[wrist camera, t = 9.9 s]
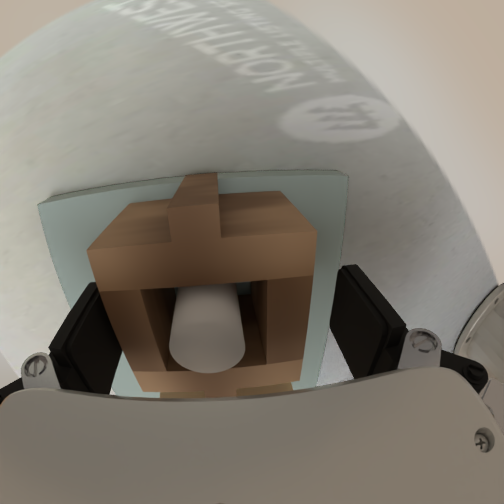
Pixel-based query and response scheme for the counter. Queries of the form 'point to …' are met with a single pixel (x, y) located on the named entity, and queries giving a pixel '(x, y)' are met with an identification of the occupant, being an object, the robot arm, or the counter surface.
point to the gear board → (111, 200)
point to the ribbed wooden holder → (208, 281)
